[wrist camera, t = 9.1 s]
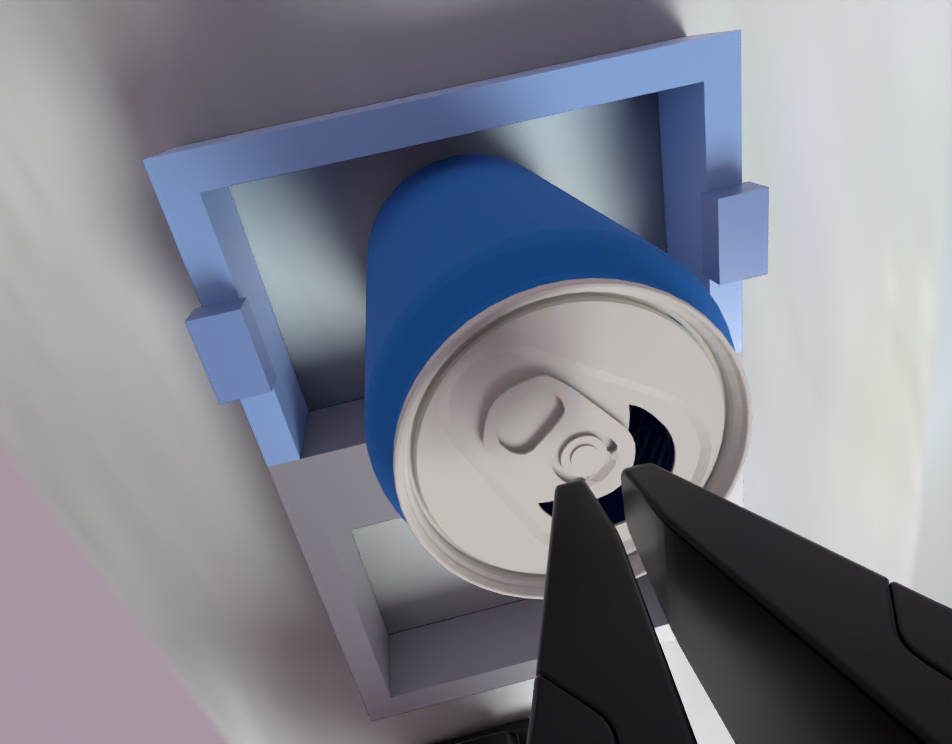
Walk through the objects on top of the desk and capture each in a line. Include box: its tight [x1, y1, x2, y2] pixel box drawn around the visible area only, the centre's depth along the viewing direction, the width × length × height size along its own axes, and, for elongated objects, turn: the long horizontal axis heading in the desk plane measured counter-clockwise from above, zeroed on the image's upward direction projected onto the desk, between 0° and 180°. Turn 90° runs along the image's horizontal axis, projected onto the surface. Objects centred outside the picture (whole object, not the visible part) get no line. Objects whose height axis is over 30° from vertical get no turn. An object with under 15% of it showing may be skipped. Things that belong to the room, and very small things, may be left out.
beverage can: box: [364, 155, 752, 599], centre depth 15 cm, size 6×6×12 cm
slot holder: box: [142, 30, 769, 722], centre depth 21 cm, size 21×15×4 cm
